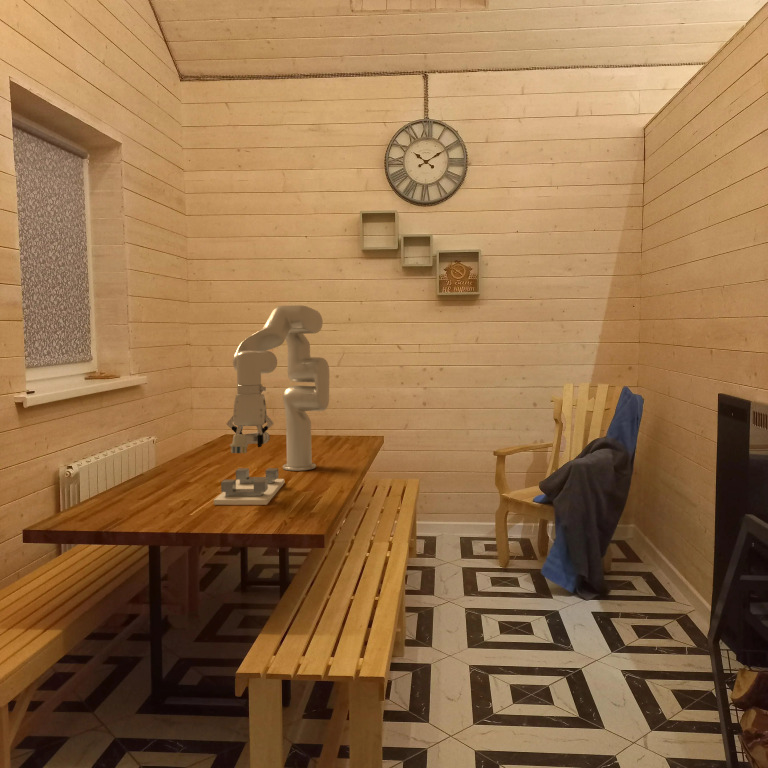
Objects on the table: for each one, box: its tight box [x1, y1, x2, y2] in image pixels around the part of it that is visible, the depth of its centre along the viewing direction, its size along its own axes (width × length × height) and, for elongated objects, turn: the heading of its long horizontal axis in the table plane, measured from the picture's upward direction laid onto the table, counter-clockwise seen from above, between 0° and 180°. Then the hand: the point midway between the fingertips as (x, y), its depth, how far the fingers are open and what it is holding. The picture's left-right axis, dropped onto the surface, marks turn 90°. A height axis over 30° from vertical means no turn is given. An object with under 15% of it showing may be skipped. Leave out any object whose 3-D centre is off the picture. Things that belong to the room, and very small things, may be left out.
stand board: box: [213, 478, 285, 506], centre depth 220 cm, size 30×16×2 cm, turn 178°
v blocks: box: [220, 467, 279, 497], centre depth 220 cm, size 22×14×4 cm, turn 178°
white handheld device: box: [229, 431, 271, 454], centre depth 219 cm, size 5×7×25 cm
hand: (250, 446), depth 219 cm, fingers closed on white handheld device, 5 cm apart
